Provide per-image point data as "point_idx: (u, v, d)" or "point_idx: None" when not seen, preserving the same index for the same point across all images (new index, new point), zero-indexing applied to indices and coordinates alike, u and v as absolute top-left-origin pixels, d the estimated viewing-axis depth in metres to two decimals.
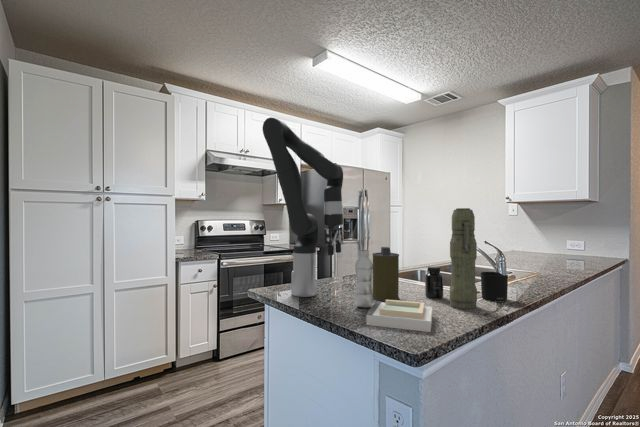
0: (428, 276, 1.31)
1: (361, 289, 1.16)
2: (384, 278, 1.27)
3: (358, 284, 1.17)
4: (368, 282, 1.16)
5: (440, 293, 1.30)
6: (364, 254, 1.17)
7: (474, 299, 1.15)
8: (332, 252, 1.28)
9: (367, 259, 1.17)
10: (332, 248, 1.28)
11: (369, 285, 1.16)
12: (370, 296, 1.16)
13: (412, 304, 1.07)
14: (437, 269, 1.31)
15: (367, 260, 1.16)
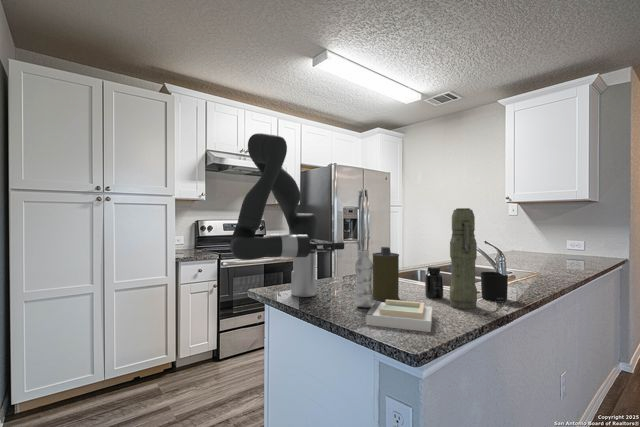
0: (428, 276, 1.31)
1: (361, 289, 1.16)
2: (384, 278, 1.27)
3: (358, 284, 1.17)
4: (368, 282, 1.16)
5: (440, 293, 1.30)
6: (364, 254, 1.17)
7: (474, 299, 1.15)
8: None
9: (367, 259, 1.17)
10: None
11: (369, 285, 1.16)
12: (370, 296, 1.16)
13: (412, 304, 1.07)
14: (437, 269, 1.31)
15: (367, 260, 1.16)
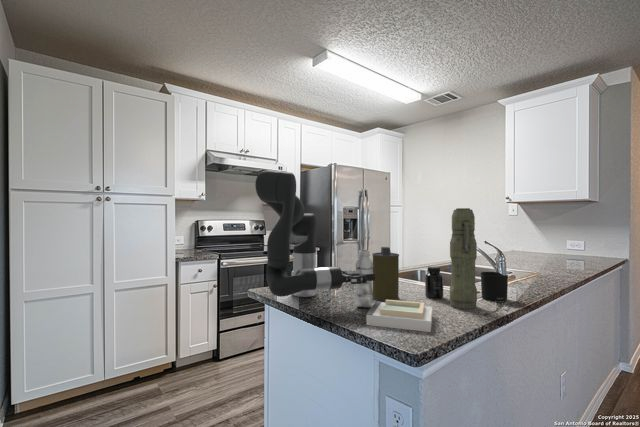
0: (428, 276, 1.31)
1: (361, 289, 1.16)
2: (384, 278, 1.27)
3: (358, 284, 1.17)
4: (368, 282, 1.16)
5: (440, 293, 1.30)
6: (364, 254, 1.16)
7: (474, 299, 1.15)
8: None
9: (367, 259, 1.17)
10: None
11: (369, 285, 1.16)
12: (370, 296, 1.16)
13: (412, 304, 1.07)
14: (437, 269, 1.31)
15: (368, 260, 1.16)
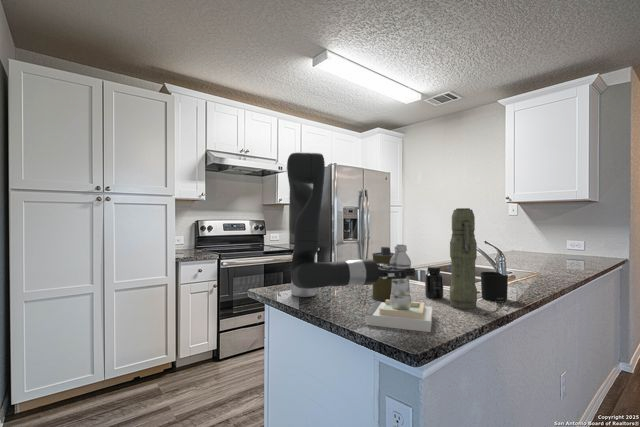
0: (428, 276, 1.31)
1: (398, 289, 1.00)
2: None
3: (394, 283, 1.02)
4: (406, 281, 1.01)
5: (440, 293, 1.30)
6: (401, 249, 1.01)
7: (474, 299, 1.15)
8: None
9: (405, 255, 1.01)
10: None
11: (407, 285, 1.01)
12: (408, 297, 1.01)
13: (412, 304, 1.07)
14: (437, 269, 1.31)
15: (405, 255, 1.01)
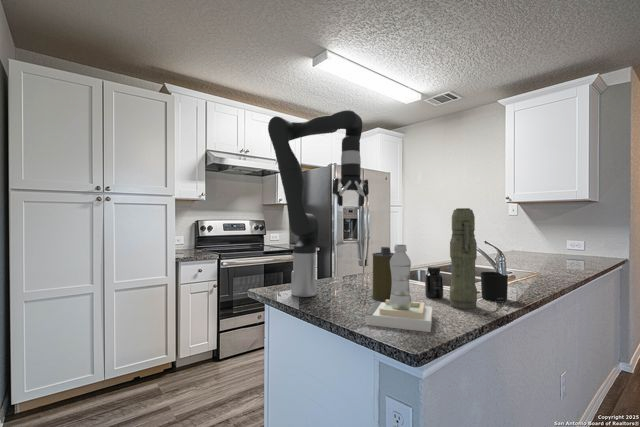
0: (428, 276, 1.31)
1: (398, 289, 1.00)
2: (384, 278, 1.27)
3: (394, 284, 1.01)
4: (406, 281, 1.01)
5: (440, 293, 1.30)
6: (401, 249, 1.01)
7: (474, 299, 1.15)
8: (340, 202, 1.26)
9: (404, 255, 1.01)
10: (340, 198, 1.26)
11: (407, 285, 1.01)
12: (408, 297, 1.00)
13: (412, 304, 1.07)
14: (437, 269, 1.31)
15: (405, 255, 1.01)
